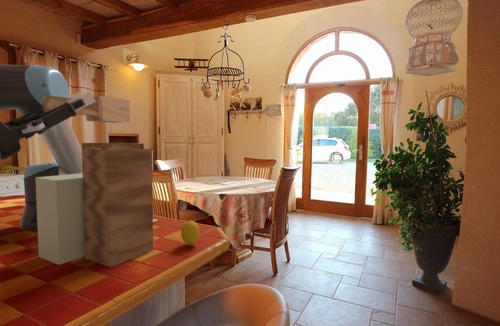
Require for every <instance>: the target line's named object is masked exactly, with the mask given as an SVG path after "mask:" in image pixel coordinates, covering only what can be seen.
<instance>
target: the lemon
mask: <svg viewBox="0 0 500 326" xmlns="http://www.w3.org/2000/svg"><path fill="white" fill-rule="evenodd" d="M180 234H181V235H180V236H181V239H182V241H183V242H184V243H185V244H188V246H192V245H193V244H194V243H196V242H197V241H198V239H199V237H200V227H199V225H198V223H197V222H196V221H194V220H192V219H189V220H188V221H185V223H183V225H182V227H181V231H180Z"/></svg>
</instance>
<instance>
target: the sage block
mask: <svg viewBox="0 0 500 326" xmlns="http://www.w3.org/2000/svg"><path fill="white" fill-rule="evenodd" d="M36 201H37V225H38V230H37V242H38V243H37V245H38V257H39V258H40V259H43V260H45V261H48V262H51V263H53V264H56V265H58V266H61V265H63V264H66V263H69V262H71V261H74V260H77V259H80V258H83V257H84V258H85V241H84V207H83V174H82V173H79V174H68V175H58V176H47V177H36Z"/></svg>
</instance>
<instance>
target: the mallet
mask: <svg viewBox="0 0 500 326" xmlns="http://www.w3.org/2000/svg"><path fill="white" fill-rule="evenodd" d="M93 97H94V99H95V101H96V102H94V103H92V104H90V105H88V106H86V107H84V108H82V109H80V110H78V111H76V113H77V114H76V116H77V115H79V116H85V121H86V122H95V123H96V122H97V123H98V122H99V123H115V124H117V123H131V119H130V118H131V116H130V115H131V113H130V112H131V108H130V99H124V98H118V97H111V96H103V95H100V96H93ZM71 99H72V98H64V97H56V96H45V97H43V110H44V112H47V111H49V110H52V109H54V108H56V107H58V106H61V105H63V104H65V102H67V101H69V100H71Z"/></svg>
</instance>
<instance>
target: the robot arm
mask: <svg viewBox="0 0 500 326" xmlns="http://www.w3.org/2000/svg"><path fill="white" fill-rule="evenodd" d="M69 91H70V88H69V84H68V82H67V79H66V78H65V76H64V75H63V74H62V72H60V71H59V70H58V69H55V68H54V67H52V66H46V65H40V64H31V65H24V64H22V65H20V64H6V63H5V64H4V63H1V64H0V110H16V111H17V112H18V113H19V115H20V116H19V117H17V118H14V119H11V120H8V121H6V122H5V121H4V122H3V121H1V120H0V160H3V161H4V160H6V159H9V158H10V157H12V156H14V155H15V154H17V153H19V152H20V151H21V148H22V147H21V146H22V145H21V144H20V141H21V140H22V139H25V140H27V139H30V138H32V137H34V136H35V135H36V134H37V135H39V136H40V137H41V138H42V140H43V142H44V143H45V145H46V147H47V149H48V150H49V152H50V153H51V155H52V157H53V158H54V160H55V162H46V163H40V164H39V163H38V164H37V163H36V164H33V165H32V164H31V165H30V164H29V165H27V166H26V167H24V170H23V177H22V178H23V187H24V189H23V191H24V210H23V213H22V215H21V217H20V221H19V228H20V229H21V230H24V231H38V225H37V201H36V177H47V176H58V175H68V174H79V173H82V145H81V144H80V142H79V140H78V137H77V136H76V134H75V131H74V130H73V128H72V125H71V123H70V121H69V119H70V118H71V117H76V116H77V115H76V114H77V113H76V111H78V110H80V109H82V108H84V107H86V106H88V105H90V104H92V103H94V102H96V101H95V99H94V97H95V96H94V95H93V94H92V91H90V90H89V91H85V92H84V93H82V94H81V92H76V93H73V94H72V95H71V93H70V92H69ZM45 96H56V97H64V98H72V99H71V100H69V101H67V102H65V104H63V105H61V106H58V107H56V108H54V109H52V110H49V111H47V112H44V110H43V97H45Z"/></svg>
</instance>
